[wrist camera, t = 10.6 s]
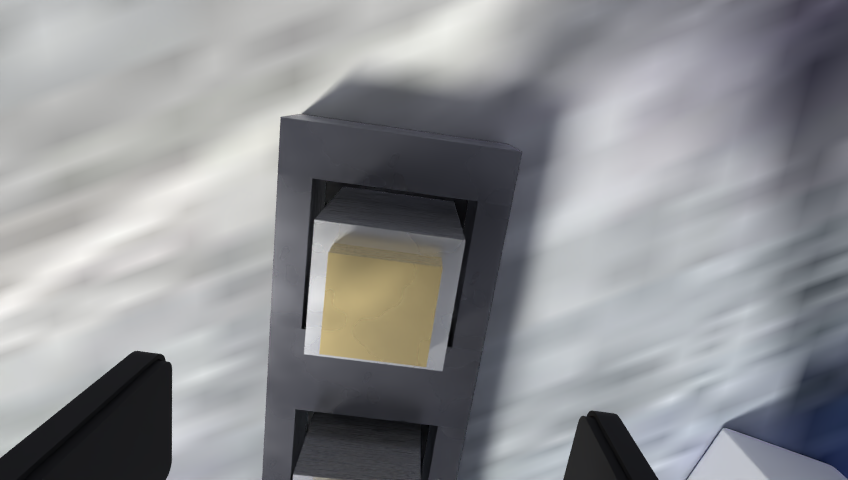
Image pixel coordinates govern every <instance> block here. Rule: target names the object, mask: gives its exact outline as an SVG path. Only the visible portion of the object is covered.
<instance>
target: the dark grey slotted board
mask: <svg viewBox="0 0 848 480" xmlns="http://www.w3.org/2000/svg"><path fill="white" fill-rule="evenodd" d="M521 155H522V151H520V150H518V149H516V148H515V147H513V146H511V145H509V144H505V143H498V142H491V141H484V140H477V139H471V138H464V137H457V136H450V135H443V134H436V133H429V132H422V131H415V130H408V129H401V128H395V127H388V126H381V125H374V124H367V123H360V122H353V121H346V120H339V119H332V118H325V117H318V116H312V115H305V114H297V115H291V116H284V117H281V123H280V142H279V162H278V181H277V201H276V220H275V240H274V259H273V279H272V298H271V318H270V337H269V357H268V377H267V396H266V416H265V435H264V455H263V474H262V480H293V473H294V470H295V468H296V465H297V462H298V459H299V456H300V453H301V450H302V447H303V444H304V441H305V435H306V423H307V411H314V412H323V413H331V414H340V415H349V416H357V417H366V418H374V419H383V420H392V421H400V422H409V423H417V424H426V425H429V431H428V437H427V443H426V448H425V454H424V460H423V466H422V472H421V477H420V480H457V475H458V470H459V465H460V460H461V455H462V450H463V445H464V440H465V435H466V430H467V425H468V420H469V415H470V410H471V405H472V400H473V395H474V390H475V385H476V380H477V375H478V370H479V365H480V360H481V355H482V350H483V345H484V340H485V335H486V330H487V325H488V320H489V315H490V310H491V305H492V300H493V295H494V290H495V285H496V280H497V275H498V270H499V265H500V260H501V255H502V250H503V245H504V240H505V235H506V230H507V225H508V220H509V215H510V210H511V205H512V200H513V195H514V190H515V185H516V180H517V175H518V170H519V165H520V160H521ZM326 180H327V181H334V182H341V183H349V184H356V185H363V186H370V187H378V188H385V189H392V190H399V191H406V192H414V193H421V194H428V195H435V196H442V197H450V198H457V199H464V200H468V205H467V211H466V216H465V222H464V228H463V233H464V237H465V240H466V241H465V247H464V252H463V258H462V264H461V269H460V275H459V281H458V286H457V292H456V297H455V303H454V309H453V314H452V320H451V326H450V331H449V337H448V343H447V348H446V354H445V360H444V365H443V371H436V370H428V369H420V368H412V367H404V366H396V365H388V364H379V363H371V362H363V361H355V360H347V359H339V358H331V357H323V356H315V355H306V354H304V347H305V334H306V321H307V308H308V295H309V283H310V270H311V257H312V244H313V231H314V220H315V218H316V217H317V216H318V215H319V214H320V213H321V212H322V210H323V209H324V203H325V190H326Z"/></svg>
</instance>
